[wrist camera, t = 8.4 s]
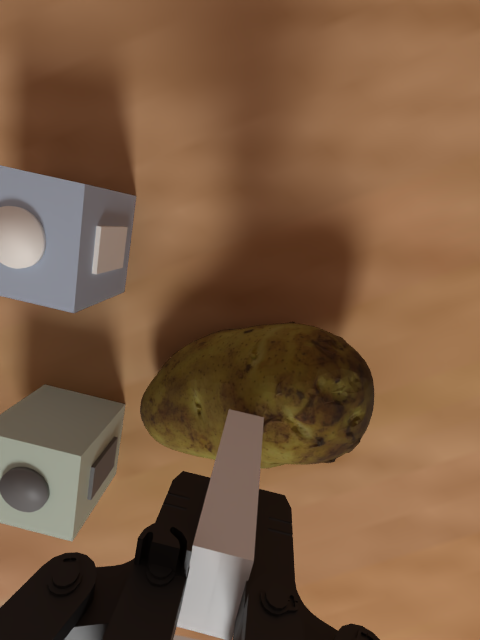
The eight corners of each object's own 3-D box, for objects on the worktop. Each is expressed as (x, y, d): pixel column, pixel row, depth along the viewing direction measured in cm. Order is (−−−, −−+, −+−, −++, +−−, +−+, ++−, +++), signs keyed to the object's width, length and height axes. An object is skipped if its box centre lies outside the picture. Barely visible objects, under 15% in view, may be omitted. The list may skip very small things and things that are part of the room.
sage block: (119, 474, 27) (73, 546, 20) (40, 454, 27) (-28, 520, 21) (129, 404, 25) (82, 460, 19) (45, 383, 25) (-28, 433, 19)
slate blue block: (128, 292, 23) (75, 315, 17) (37, 271, 23) (-49, 286, 17) (140, 197, 21) (86, 184, 15) (42, 175, 22) (-50, 154, 15)
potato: (151, 302, 23) (87, 340, 15) (354, 308, 22) (399, 353, 14) (157, 417, 25) (105, 502, 17) (343, 428, 24) (376, 525, 16)
